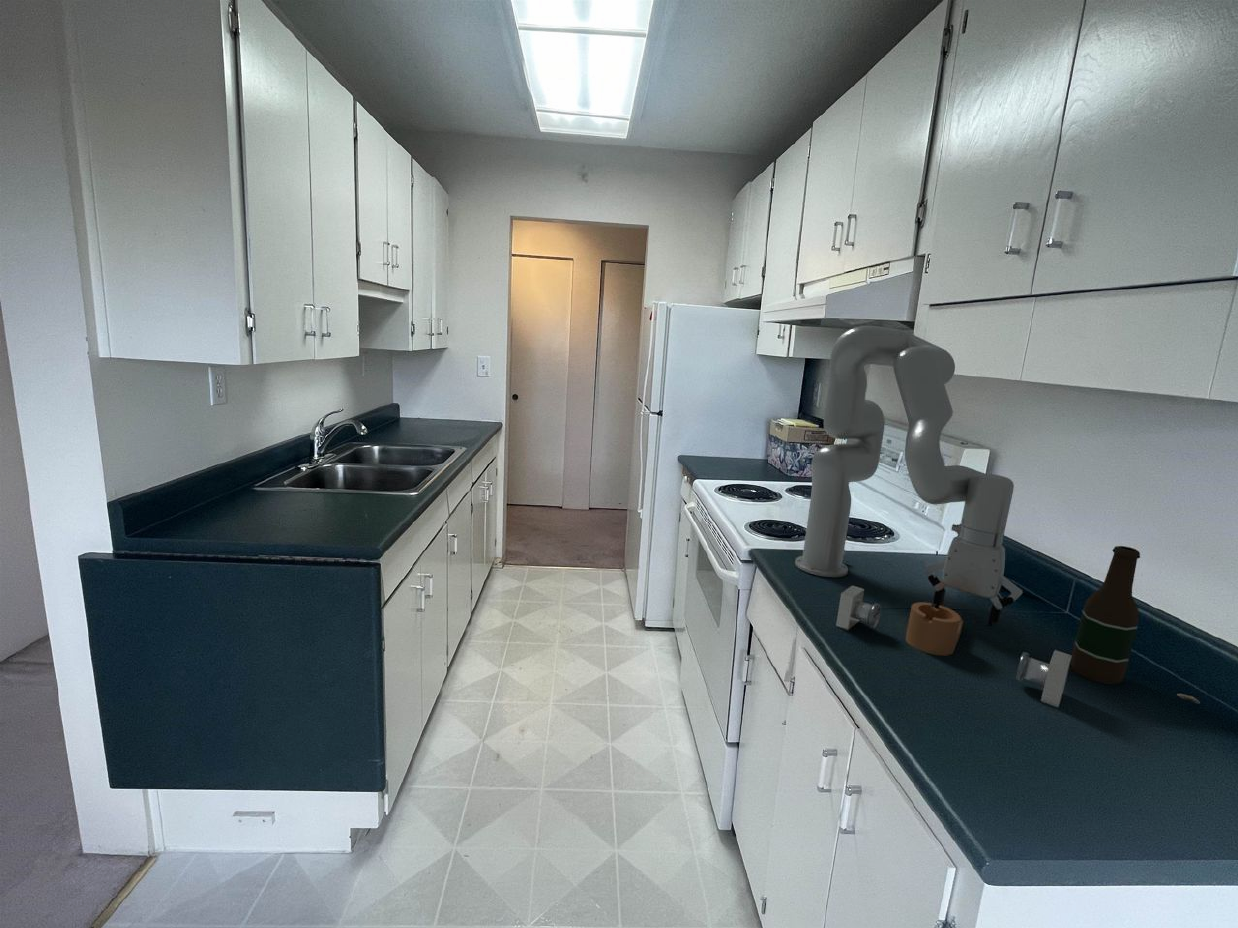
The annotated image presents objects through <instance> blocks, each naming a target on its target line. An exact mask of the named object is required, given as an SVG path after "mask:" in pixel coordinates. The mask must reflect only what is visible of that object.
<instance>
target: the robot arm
mask: <svg viewBox="0 0 1238 928" xmlns="http://www.w3.org/2000/svg"><path fill="white" fill-rule="evenodd" d="M867 365H875V366H876V365H877V366H890V367H892V368H893V373H894V374H893V375H894V376H895V381H896V385H897V387H898V390H899V394H900V397H901V401H902V404H903V408H904V411H905V414H906V417H907V422H908V429H907V433H906V437H905V447H904V457H905V458H904V459H905V465H906V467H907V471H908V476H909V479H910V481H911V484H912V488H913V489H914V491H915V493H916V494H917V495H918V497H919V498H920V499H921V500H922V501H923V502H926V503H928V504H931V505H944V504H948V503H949V504H950V503H961V502H964V505H963V509H962V510H963V511H962V515H961V521H960V523H959V524H955V523H952V525H951V531H952V532H955V533H956V534H957V536H956V535H955V536H954V537H953V538H952V540H951V541H950V542H951V543H950V545H949V548H948V551H947V553H946V557H945V560H944V561H940V562H935V563H929V564H926V565H925V566H924V570H925V573H926V575H927V579H928V582H929V583H931V585H932V587H933V589H934V590H935V591H934V596H933V601H932V604H934V605H935V606H934V607H935V608H937V609H938V608H939V606H940V605H941V606H943V604H944V599H945V595H946V587H948V588H951V589H954V590H956V591H957V590H958V591H961V592H965V593H968V594H972V595H975V596H979V597H983V598H986V599H990V601H991V602H992V604H993V605H992V606H991V609H990V613H989V618H988V621H987V622H988V623H987V626H988V627H990V628H992V627H993V626H994V625H995V623H996V624H998V623H999V621H1000V615H1001V611H1002V608H1005V607H1007V606H1010V605H1011V604H1013V603H1014V602H1015V601H1016V600H1017V599H1019V598H1020V596H1022V594H1023V589H1021V588H1020V587H1018V586H1017V585H1016V584H1015V583H1013V582H1012V581H1010V580H1009V579H1008V578H1007V577H1005V576H1004V574H1005V573H1004V572H1005V563H1006V562H1005V561H1006V549H1005V547H1004V546H1003V541H1004V535H1005V531H1006V526H1007V522H1008V516H1009V513H1010V508H1011V503H1012V499H1013V494H1014V489H1015V488H1014V487H1015V485H1014V482H1013V480H1012V479H1011V478H1010V477H1009V478H1008V477H1007V476H1006V477H1005V476H1003V475H999V474H994V473H986V472H982V471H979V470H977V469H974V468H971V467H968V466H965V465H959V464H957V465H956V464H953V465H945V461H944V459H943V456H942V452H941V444H940V442H941V435H942V432H943V430H944V427H945V426H946V425H947V424H948V423H949V421H950V420H951V418H952V417H953V415H954V413H953V410H954V409H953V408H952V404H951V401H950V398H949V394H948V391H947V389H946V384H947V383H949V382H950V380H952V378H953V377H954V375H955V371H956V365H955V360H954V358H953V356H952V355H951V353H949V351H947V350H946V349H944V348H942V347H941V346H938V345H936V344H933V343H931V342H929V341H927V340H925V339H923V338H922V337H918V336H916V335H915V334H913V333H911V332H908V331H906V330H903V329H899V328H890V327H884V326H880V325H879V326H877V325H860V326H856V327H853V328H851V329H848V330H847V331H845V332H844V333H842V334H841V335H840V336H839V337H838V338H837V340H836V341H835V343H834V345H833V346H832V349H831V354H830V359H829V378H828V380H829V381H828V387H827V392H826V400H825V408H824V416H823V417H824V418H823V429H824V432H825V433H826V434H827V435H828V436H829V437H830V438H833V439H837V440H846V443H834V444H829V445H825V446H822V447H820V448H819V449H818V450H817V451H816V452H815V453H814V455H813V457H812V460H811V464H810V466H811V493H810V499H809V500H810V501H809V510H808V517H807V523H806V530H805V538H804V545H803V550H802V555H800V556H798V557H797V556H796V558H795V563H794V564H795V566H796V567H797V568H798V569H800V570H801V571H803V572H805V573H808V574H811V575H814V576H818V577H823V578H824V577H825V578H841V577H844V576H846V575H847V574H848V571H849V569H848V568H849V567H848V566H847V565H846V564H844V563H843V560H844V555H845V554H846V549H845V547H846V542H847V541H846V540H847V534H848V533H847V532H848V528H849V521H850V515H851V509H852V493H851V489H850V483H856V482H862V481H866V480H868V479H870V478H872V477H873V476H874V475H875V473H876V472H877V470H878V467H879V463H880V459H881V452H882V446H883V441H884V439H883V438H884V432H885V424H886V422H885V414H884V412H883V409H882V408H881V407H880V406H879V405H878V404H877V403H876V402H874V401H873V400H869V399H866V394H867V393H866V392H867V387H868V380H867V374H866V371H865V366H867ZM938 570H939V571H940V570H942V573H941V576H940V577H941V578H940V579H939V578H938V576H937V574H936V573H935V571H938ZM1002 587H1004V588H1005V589H1006V590H1008V591H1009V592H1010V594H1009V595H1008V596H1005V597H1003V596H1001V594H1000V591H1001V589H1002Z"/></svg>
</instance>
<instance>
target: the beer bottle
mask: <svg viewBox="0 0 1238 928" xmlns="http://www.w3.org/2000/svg"><path fill="white" fill-rule="evenodd" d="M1111 551H1112V552H1113V555H1112V559H1111V561H1110V564H1109V567H1108V570H1107V572H1106V573H1107V574H1106V576H1105V578H1104V581H1103V582H1102V584H1101V587H1100V588H1099V589H1097V590H1095V591H1094V592H1092V593H1091V594H1090V596H1089V597H1087V599H1086V600H1085V602H1084V606H1083V609H1082V611H1081V612H1082V613H1081V616H1080V620H1079V624H1078V628H1077V631H1076V636H1075V640H1074V644H1073V648H1072V652H1071V655H1072V658H1071V662H1070V665H1071V668H1072V670H1073V672H1074V673H1076V674H1077V675H1079V676H1082V677H1083V678H1086V679H1087V680H1088V681H1092V682H1096V683H1100V684H1104V685H1106V686H1107V685H1108V686H1113V685H1117V684H1121V683H1122V682H1123V680H1124V677H1125V674H1126V670H1127V669H1128V664H1129V659H1130V656H1131V653H1132V648H1133V645H1134V641H1135V638H1136V634H1137V629H1138V626H1139V619H1140V614H1139V609H1138V605H1137V604H1136V602H1135V599H1134V598H1133V586H1134V585H1133V584H1134V580H1135V573H1136V568H1137V563H1138V559H1140V558H1141V552H1140V551H1139V550H1137V549H1136V548H1133V547H1130V546H1123V545H1116V546H1114V547H1113V549H1112V550H1111Z"/></svg>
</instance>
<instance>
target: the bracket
mask: <svg viewBox="0 0 1238 928" xmlns="http://www.w3.org/2000/svg"><path fill="white" fill-rule="evenodd" d="M932 605H933V602H932V603H930V602H925V601H923V602H921V601H920V602H915V603H913V604H911V609H910V613H909V619H908V624H907V630H906V634H905V642H906V643H908V644H909V645H910V646H911V647H913V649H916V650H918V651H921V652H924V653H926V654H930V655H934V656H950V655H952V654H954V652H955V649H956V647H957V644H958V641H959V639H960V636H961V633H962V630H963V629H962V628H963V623H964V619H963V618H962V617H961V615H959V613H957V612H956V611H954V610H952V609H951V608H949V607H946V606H943V605H942V606H941V605H940V606H939V608H938V609H937V608H935V606H932Z"/></svg>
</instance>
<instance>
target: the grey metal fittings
mask: <svg viewBox="0 0 1238 928" xmlns="http://www.w3.org/2000/svg"><path fill="white" fill-rule="evenodd" d="M864 595H865V589H864V588H862V587H858V586H855V585H850V586H849V587H848V588H847V589H845V590H844V591H843V592H841V593H840V599H839V605H838V611H837V617H836V618H837V619H836V624H835V627H839V628H841V629H843V630H846V631H849V630H850V629H851V628H852V627H854V626H855V625H856V624H857V623H859V622H864V623H866V624H867V626H868V627H869V628H870V629H875V628H876V626H877V625H878V624H879V621H880V618H881V613H882V606H881V604H879V603H876V602H874V604H870V603H866V602H864V601H863V598H864ZM1029 655H1030V654H1029V653H1028V652H1024V651H1023V652H1022V654H1021V656H1020V660H1019V664H1018V666H1017V670H1016V675H1015V680H1017V681H1019V682H1022V681H1023V680H1024V679H1025V680H1027V681H1031V682H1034V683H1036V684H1039V685H1042V686H1043V690H1042V694H1041V697H1040V698H1041V699H1040V702H1042V703H1045V704H1047V705H1050V706H1052V707H1055V708H1059V707H1060V703H1061V700H1062V697H1063V694H1064V689H1065V684H1066V681H1067V678H1068V673H1069V669H1070V665H1071V663H1070V662H1071V658H1072V654H1069V653H1065V652H1062V651H1059V650H1057V649H1055V650H1054V651H1053V654H1052V656H1051V659H1050V661H1049V663H1047V662H1044V661H1040V660H1037V659H1034V658H1032V657H1030V656H1029Z"/></svg>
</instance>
